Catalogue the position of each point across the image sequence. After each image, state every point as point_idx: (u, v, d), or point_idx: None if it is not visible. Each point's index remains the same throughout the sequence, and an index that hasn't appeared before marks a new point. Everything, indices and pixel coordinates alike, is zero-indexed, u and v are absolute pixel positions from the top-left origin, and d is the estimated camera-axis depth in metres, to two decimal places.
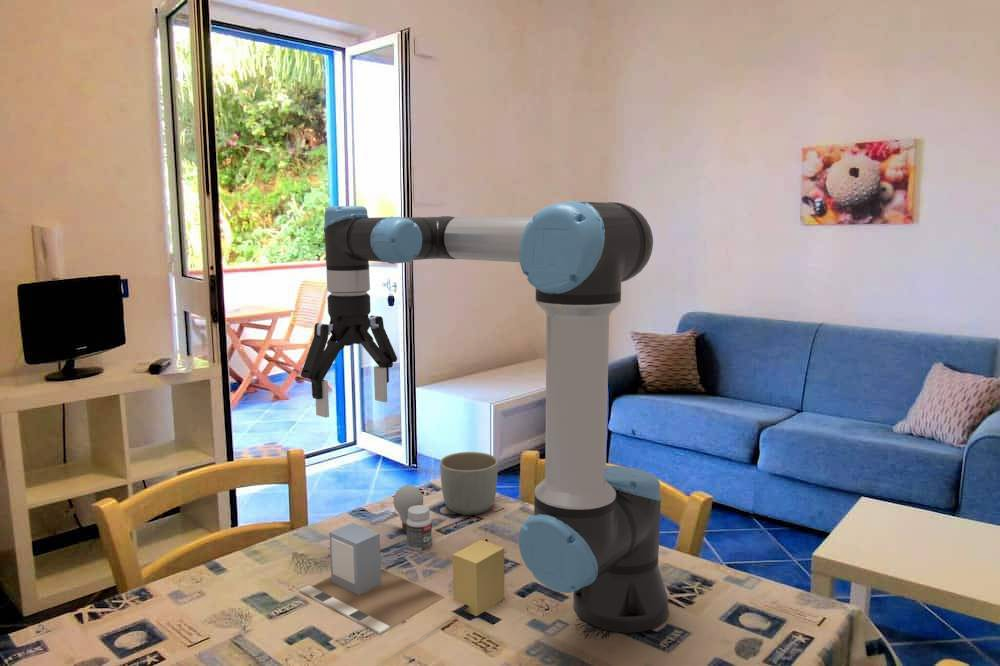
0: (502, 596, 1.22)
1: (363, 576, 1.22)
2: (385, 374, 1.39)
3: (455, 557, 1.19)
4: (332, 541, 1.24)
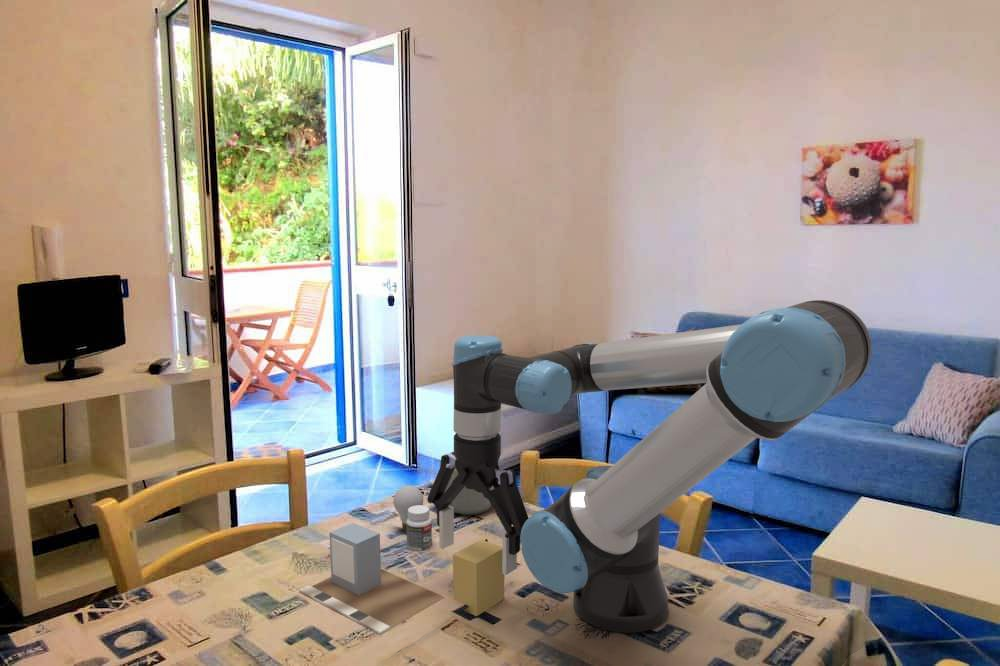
0: (502, 596, 1.22)
1: (363, 576, 1.22)
2: (504, 542, 1.14)
3: (455, 557, 1.19)
4: (332, 541, 1.24)
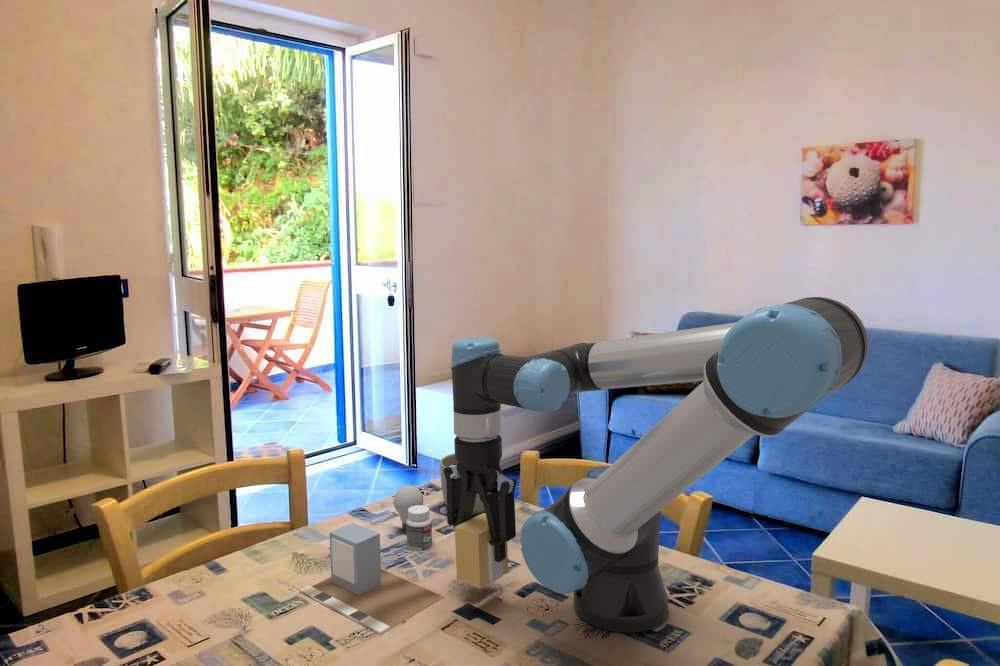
0: (506, 569, 1.21)
1: (363, 576, 1.22)
2: (490, 550, 1.17)
3: (457, 529, 1.18)
4: (332, 541, 1.24)
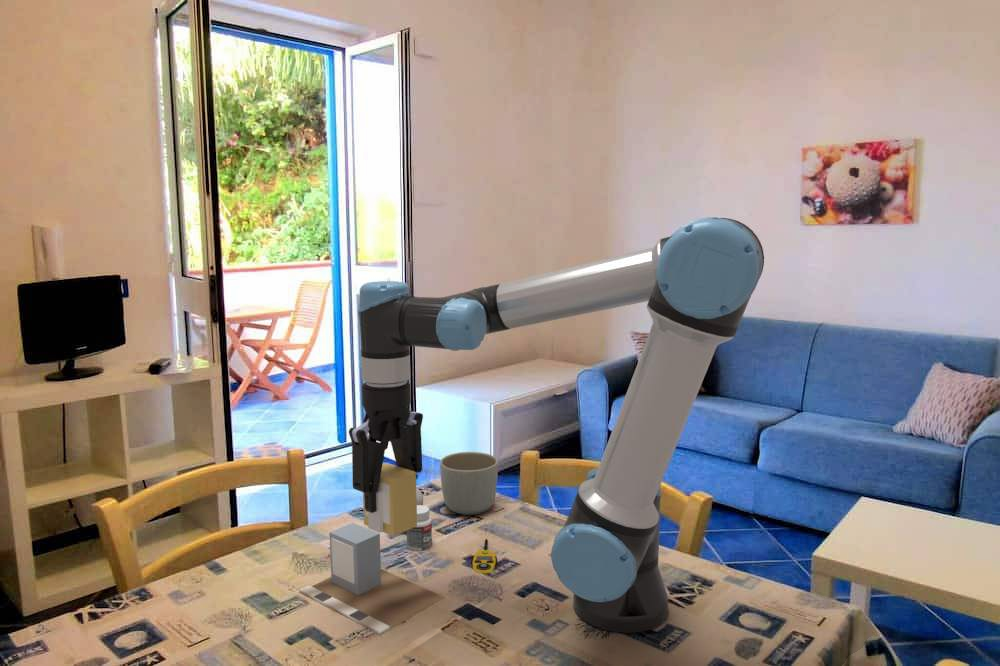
0: None
1: (363, 576, 1.22)
2: None
3: (395, 482, 1.13)
4: (332, 541, 1.24)
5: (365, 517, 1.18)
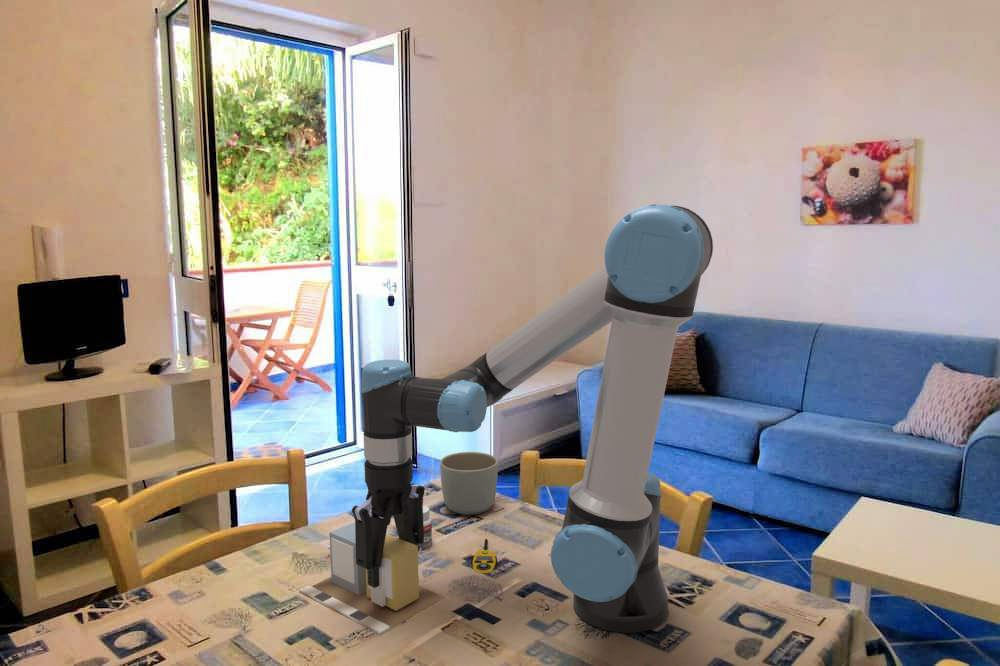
0: None
1: (363, 576, 1.22)
2: None
3: (397, 558, 1.15)
4: (332, 541, 1.24)
5: (368, 589, 1.20)
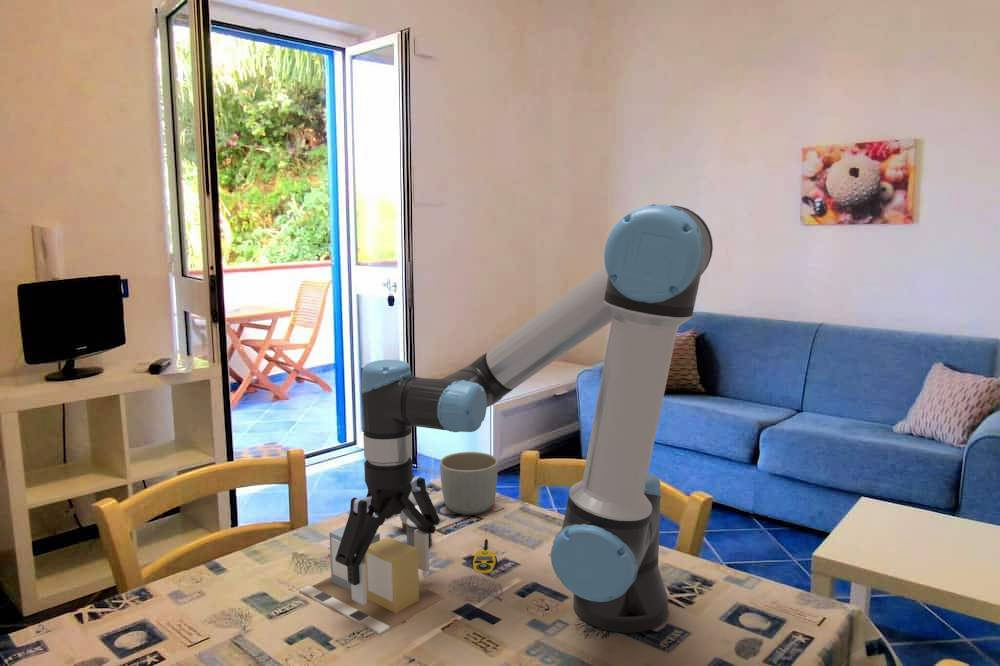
0: None
1: None
2: (427, 541, 1.23)
3: (397, 560, 1.15)
4: (332, 541, 1.24)
5: (368, 592, 1.20)
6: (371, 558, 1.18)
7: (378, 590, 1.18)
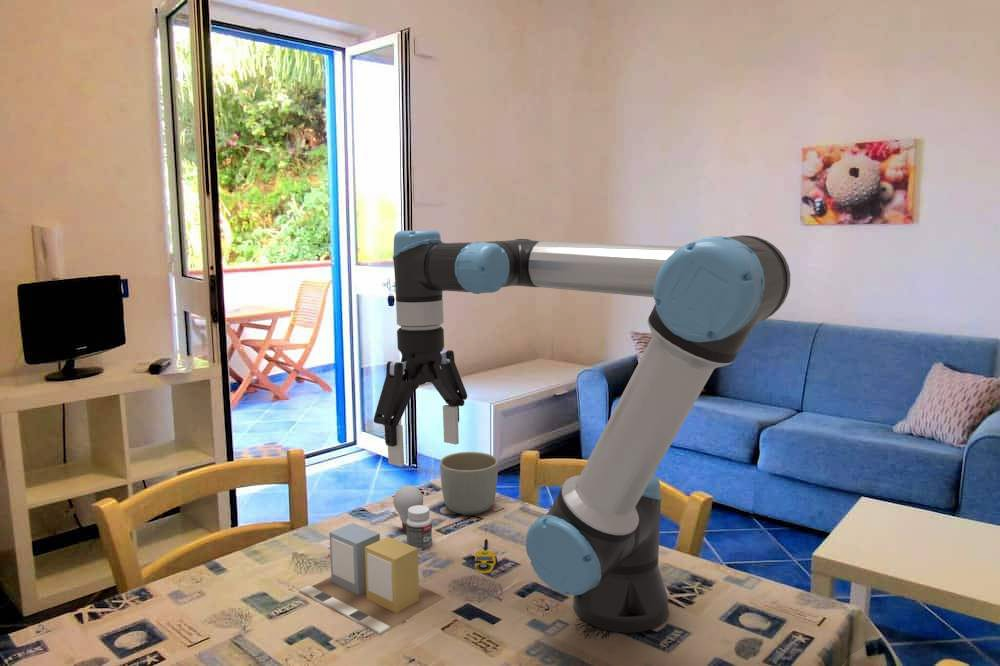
0: None
1: (363, 576, 1.22)
2: (456, 413, 1.26)
3: (397, 560, 1.15)
4: (332, 541, 1.24)
5: (368, 592, 1.20)
6: (371, 558, 1.18)
7: (378, 590, 1.18)
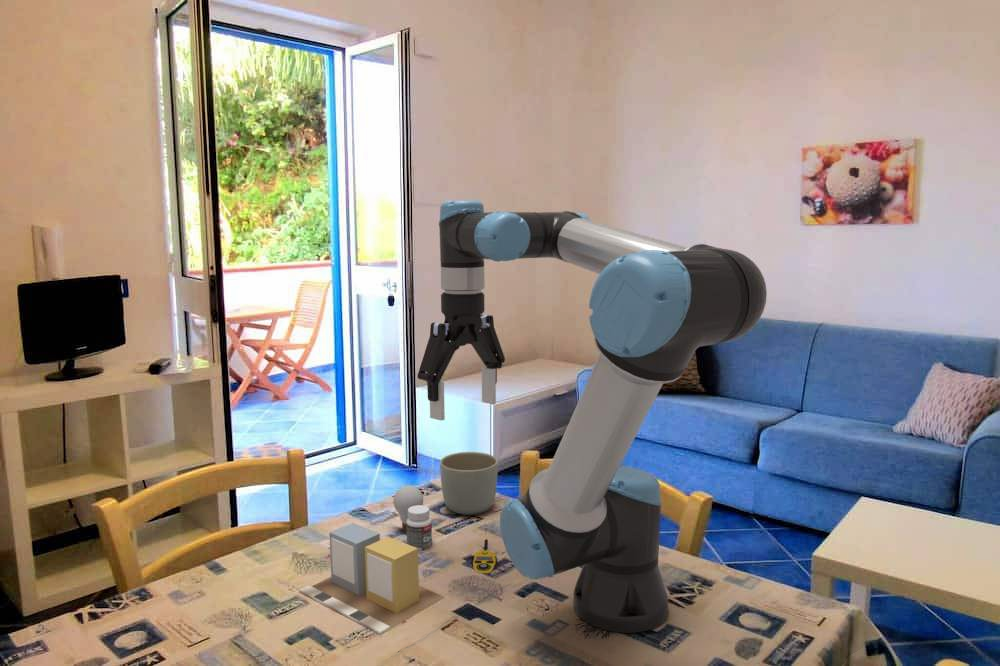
0: None
1: (363, 576, 1.22)
2: (494, 375, 1.34)
3: (397, 560, 1.15)
4: (332, 541, 1.24)
5: (368, 592, 1.20)
6: (371, 558, 1.18)
7: (378, 590, 1.18)
